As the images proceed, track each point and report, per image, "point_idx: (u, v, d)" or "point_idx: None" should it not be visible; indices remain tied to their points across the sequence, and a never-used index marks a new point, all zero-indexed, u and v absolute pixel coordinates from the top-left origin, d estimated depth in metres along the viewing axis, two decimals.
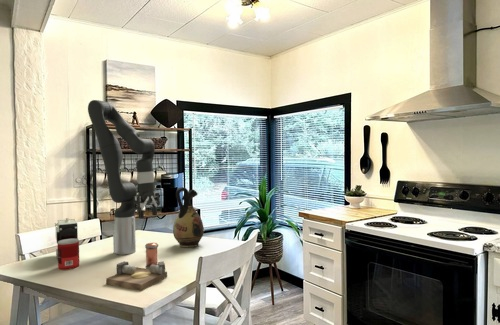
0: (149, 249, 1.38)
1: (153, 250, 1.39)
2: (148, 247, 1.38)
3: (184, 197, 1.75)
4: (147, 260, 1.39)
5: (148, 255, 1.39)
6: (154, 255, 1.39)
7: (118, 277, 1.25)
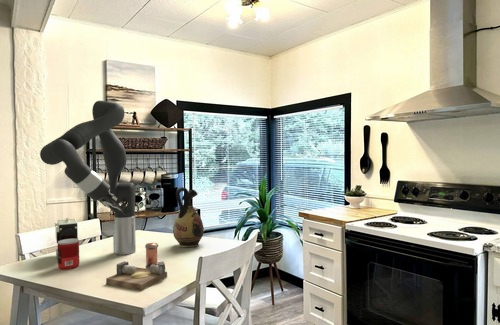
0: (149, 249, 1.38)
1: (153, 250, 1.39)
2: (148, 247, 1.38)
3: (184, 197, 1.75)
4: (147, 260, 1.39)
5: (148, 255, 1.39)
6: (154, 255, 1.39)
7: (118, 277, 1.25)
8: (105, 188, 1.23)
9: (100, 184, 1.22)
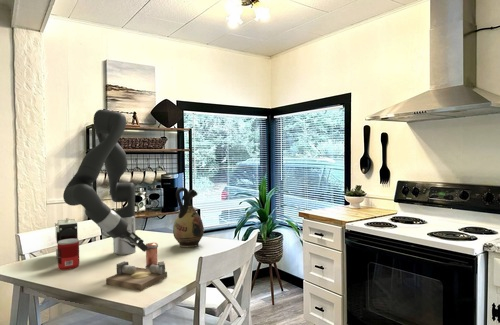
0: (149, 249, 1.38)
1: (153, 250, 1.39)
2: (148, 247, 1.38)
3: (184, 197, 1.75)
4: (147, 260, 1.39)
5: (148, 255, 1.39)
6: (154, 255, 1.39)
7: (118, 277, 1.25)
8: (123, 226, 1.28)
9: (119, 223, 1.27)
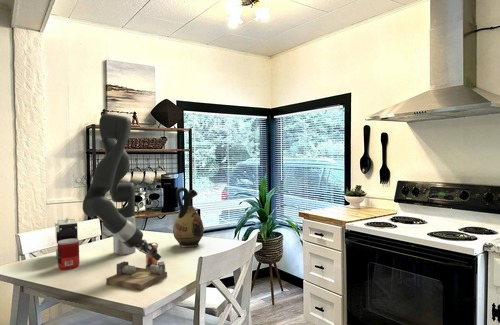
0: None
1: None
2: None
3: (184, 197, 1.75)
4: (147, 260, 1.39)
5: (148, 255, 1.39)
6: None
7: (118, 277, 1.25)
8: (139, 236, 1.33)
9: (135, 233, 1.31)
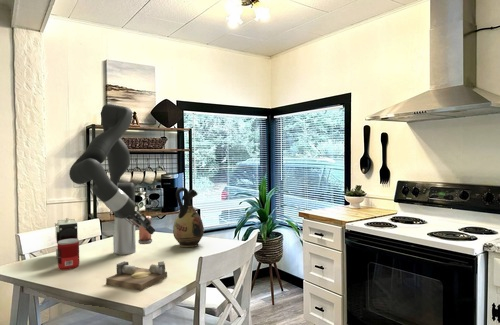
0: None
1: None
2: None
3: (184, 197, 1.75)
4: (140, 233, 1.30)
5: (141, 228, 1.30)
6: None
7: (118, 277, 1.25)
8: (131, 206, 1.24)
9: (127, 202, 1.23)
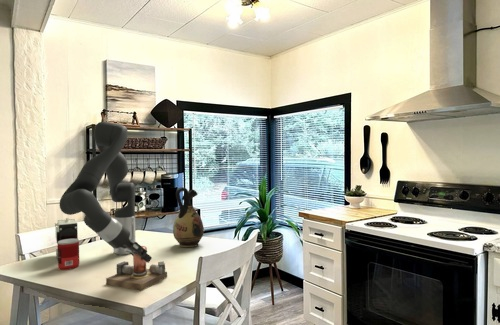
0: None
1: None
2: None
3: (184, 197, 1.75)
4: (134, 265, 1.25)
5: (135, 260, 1.24)
6: (142, 260, 1.25)
7: (118, 277, 1.25)
8: (125, 235, 1.19)
9: (120, 232, 1.17)
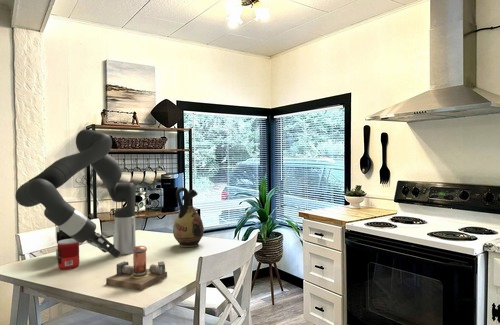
0: (136, 253, 1.24)
1: (141, 254, 1.25)
2: (135, 251, 1.24)
3: (184, 197, 1.75)
4: (134, 265, 1.25)
5: (135, 260, 1.24)
6: (142, 260, 1.25)
7: (118, 277, 1.25)
8: (90, 229, 1.11)
9: (84, 225, 1.10)
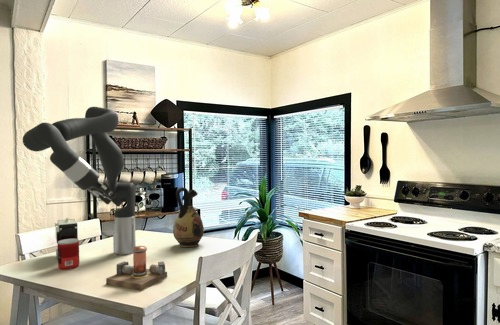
0: (136, 253, 1.24)
1: (141, 254, 1.25)
2: (135, 251, 1.24)
3: (184, 197, 1.75)
4: (134, 265, 1.25)
5: (135, 260, 1.24)
6: (142, 260, 1.25)
7: (118, 277, 1.25)
8: (94, 176, 1.16)
9: (88, 172, 1.14)
